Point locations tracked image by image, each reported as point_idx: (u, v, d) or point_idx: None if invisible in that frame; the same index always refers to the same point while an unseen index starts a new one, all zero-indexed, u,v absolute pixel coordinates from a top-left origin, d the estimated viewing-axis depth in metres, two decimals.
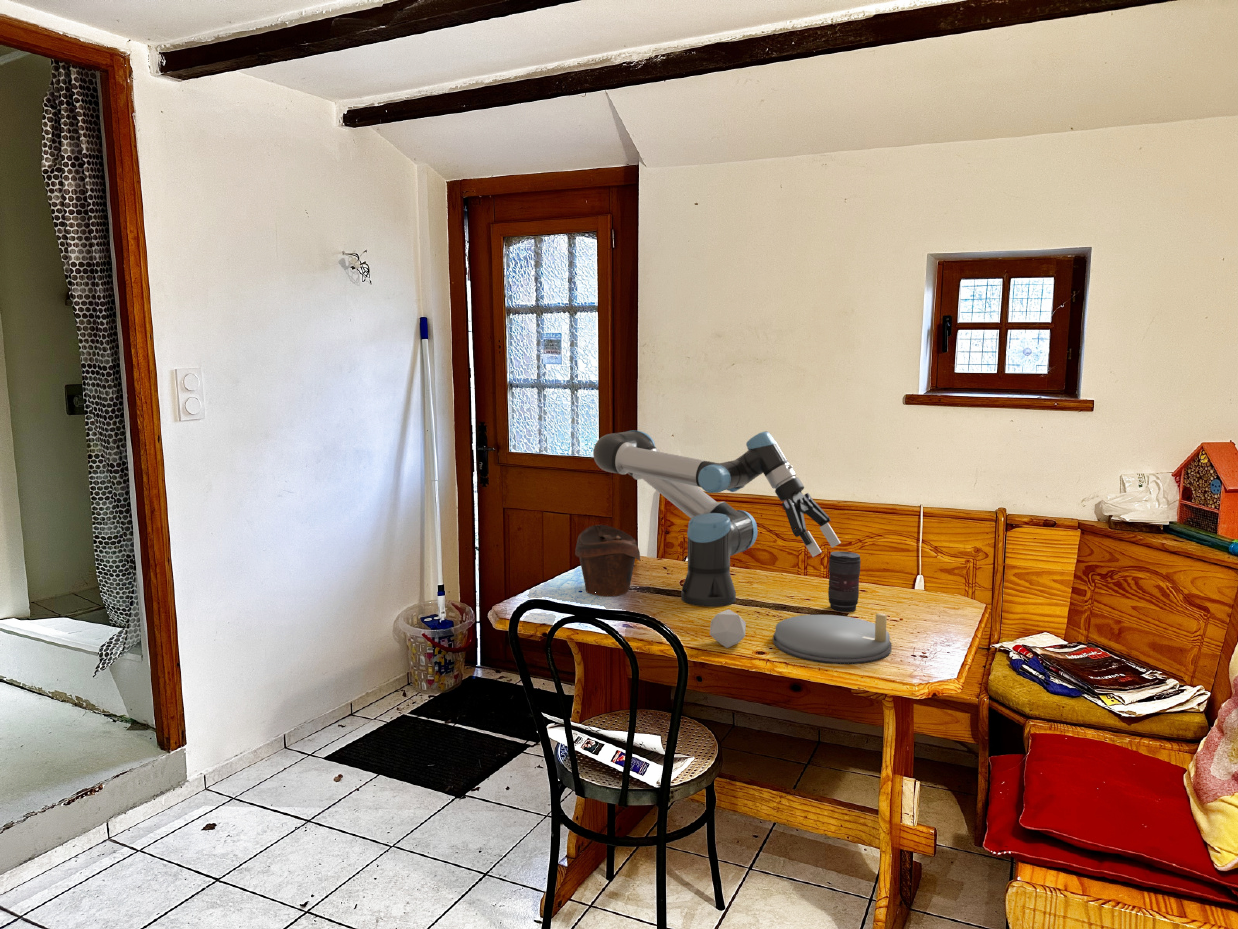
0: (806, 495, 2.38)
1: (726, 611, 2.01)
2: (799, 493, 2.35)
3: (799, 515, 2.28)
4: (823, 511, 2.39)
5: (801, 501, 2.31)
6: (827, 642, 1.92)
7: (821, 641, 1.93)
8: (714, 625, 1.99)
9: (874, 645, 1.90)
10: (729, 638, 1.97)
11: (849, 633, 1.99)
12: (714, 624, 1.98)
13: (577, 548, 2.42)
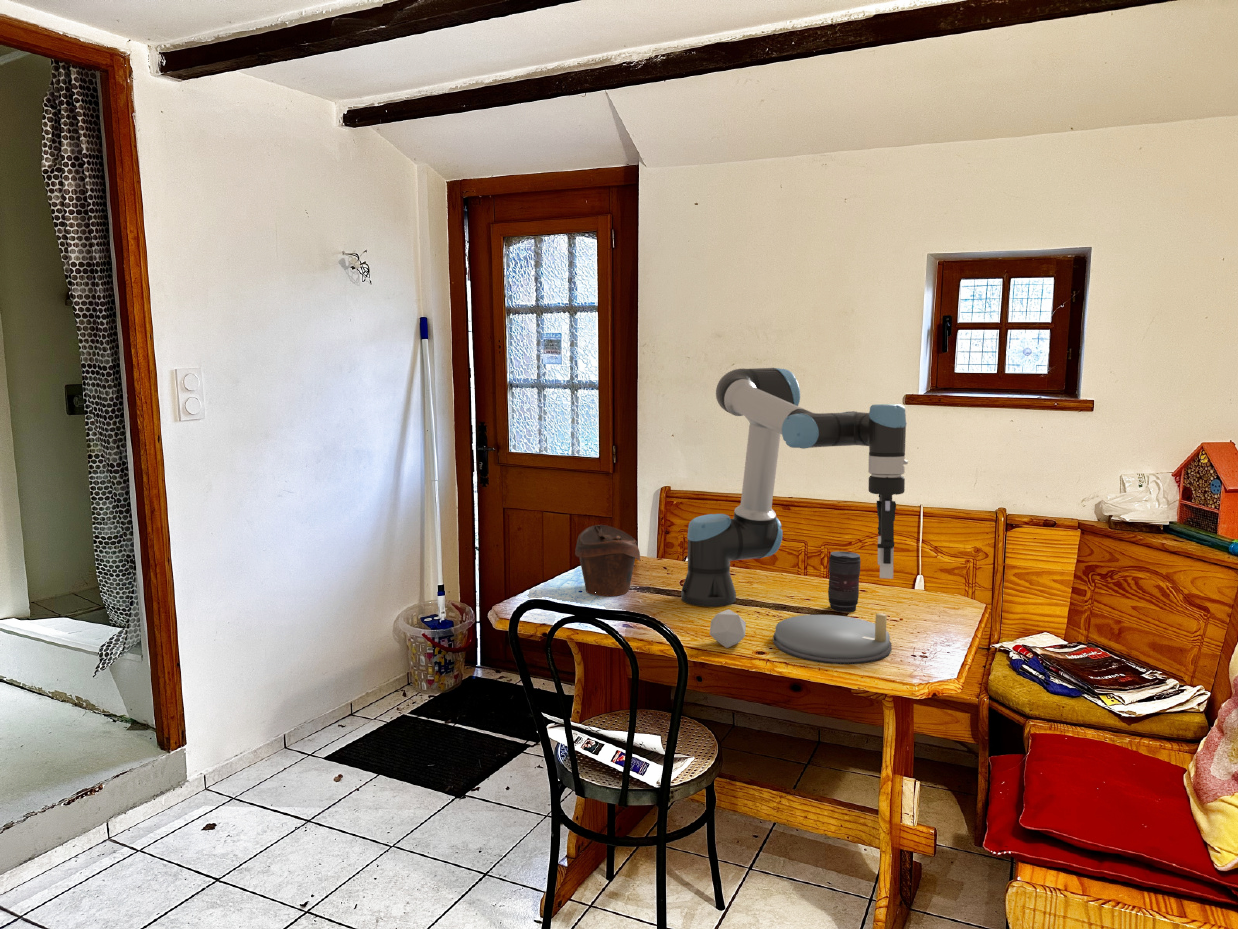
0: None
1: (726, 611, 2.01)
2: None
3: None
4: None
5: (895, 507, 1.84)
6: (827, 642, 1.92)
7: (821, 641, 1.93)
8: (714, 625, 1.99)
9: (874, 645, 1.90)
10: (729, 638, 1.97)
11: (849, 633, 1.99)
12: (714, 624, 1.98)
13: (577, 548, 2.42)
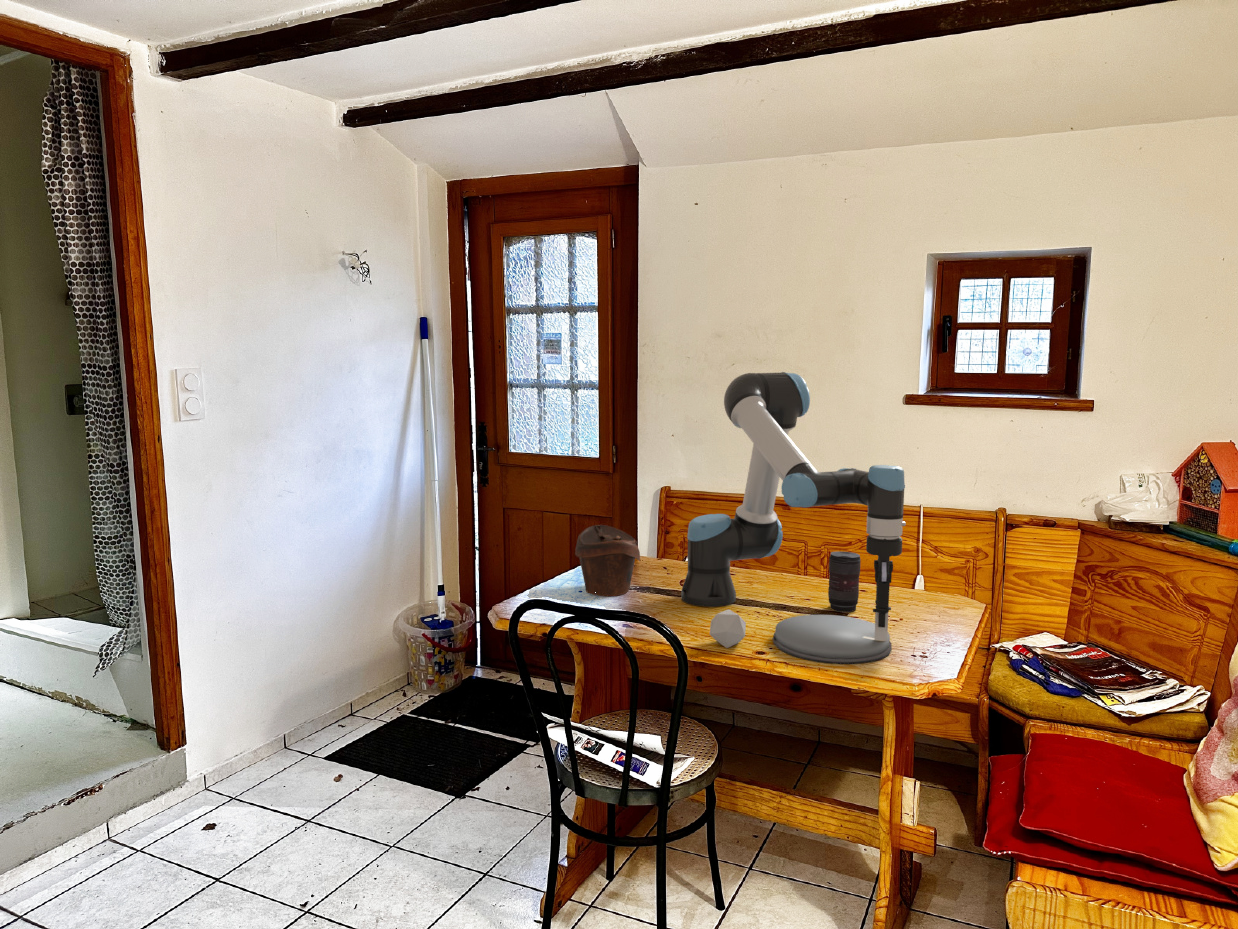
0: None
1: (726, 611, 2.01)
2: None
3: None
4: None
5: (892, 568, 1.86)
6: (828, 643, 1.92)
7: (821, 641, 1.93)
8: (714, 625, 1.99)
9: (875, 645, 1.90)
10: (729, 638, 1.97)
11: (849, 633, 1.99)
12: (714, 624, 1.98)
13: (577, 548, 2.42)
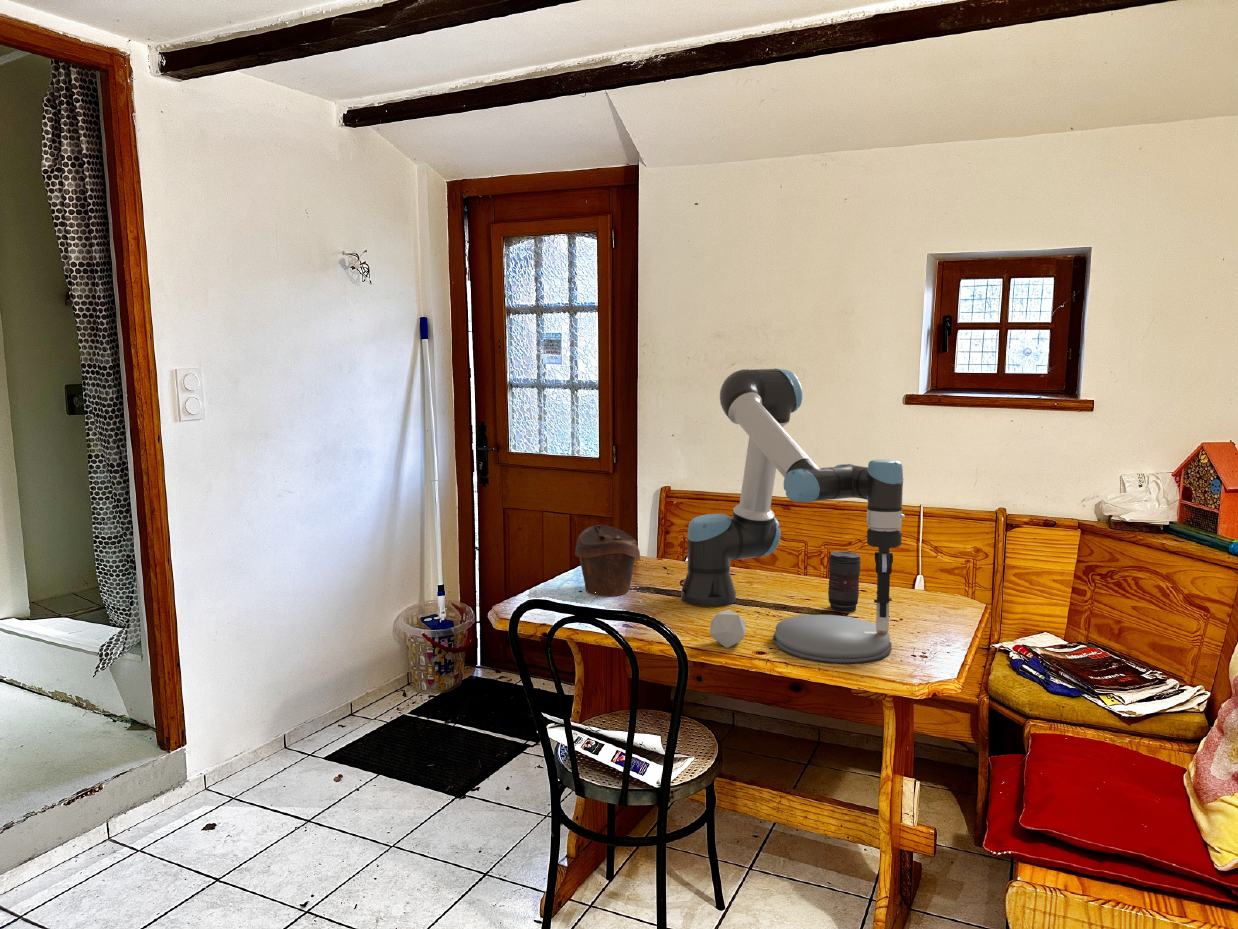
0: None
1: (726, 611, 2.01)
2: None
3: None
4: None
5: (892, 559, 1.92)
6: (847, 643, 1.92)
7: (840, 643, 1.92)
8: (714, 625, 1.99)
9: (885, 638, 1.95)
10: (729, 638, 1.97)
11: (848, 630, 2.01)
12: (714, 624, 1.98)
13: (577, 548, 2.42)
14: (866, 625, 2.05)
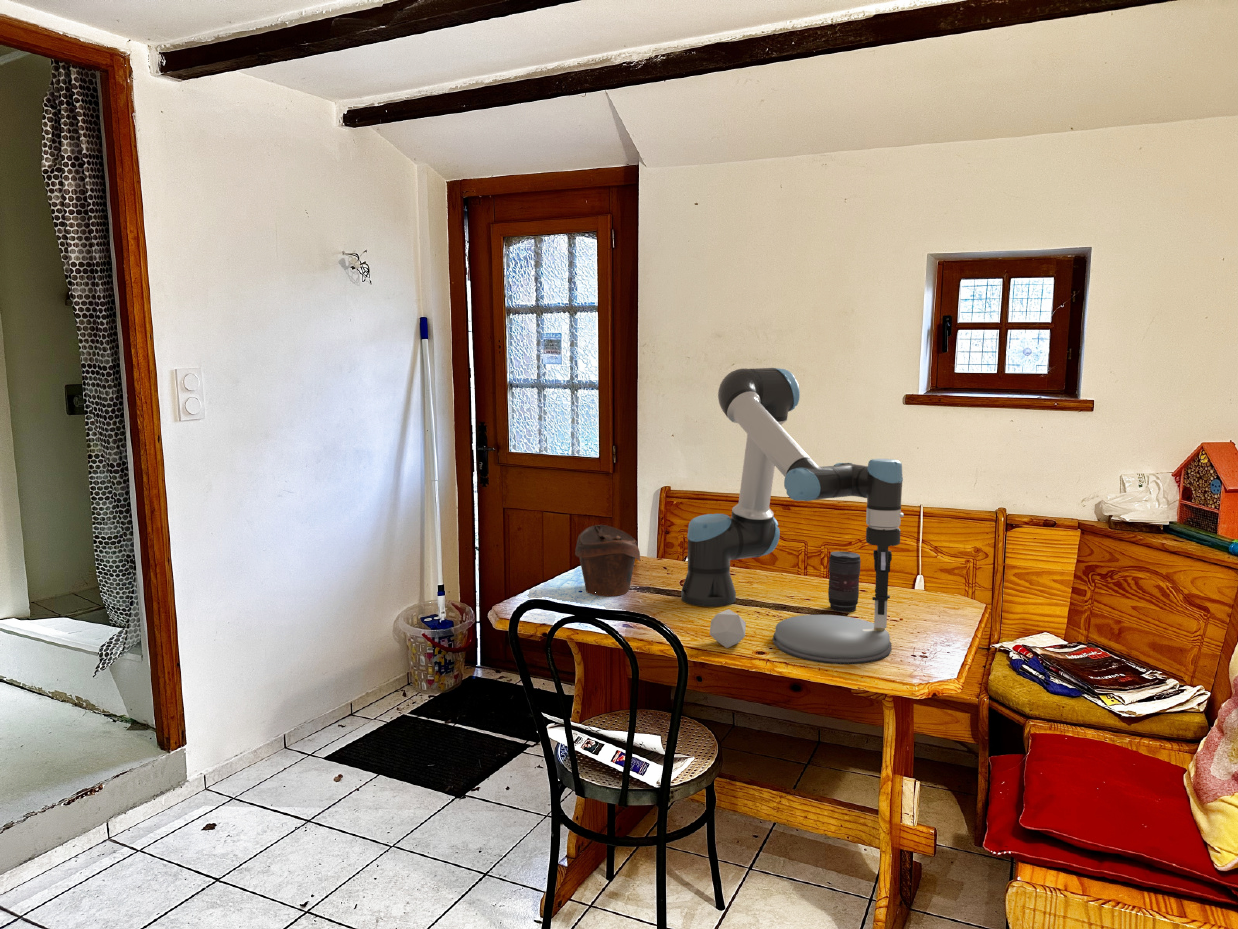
0: None
1: (726, 611, 2.01)
2: None
3: None
4: None
5: (891, 557, 1.94)
6: (854, 642, 1.92)
7: (847, 643, 1.92)
8: (714, 625, 1.99)
9: (886, 635, 1.97)
10: (729, 638, 1.97)
11: (846, 629, 2.01)
12: (714, 624, 1.98)
13: (577, 548, 2.42)
14: (860, 622, 2.06)
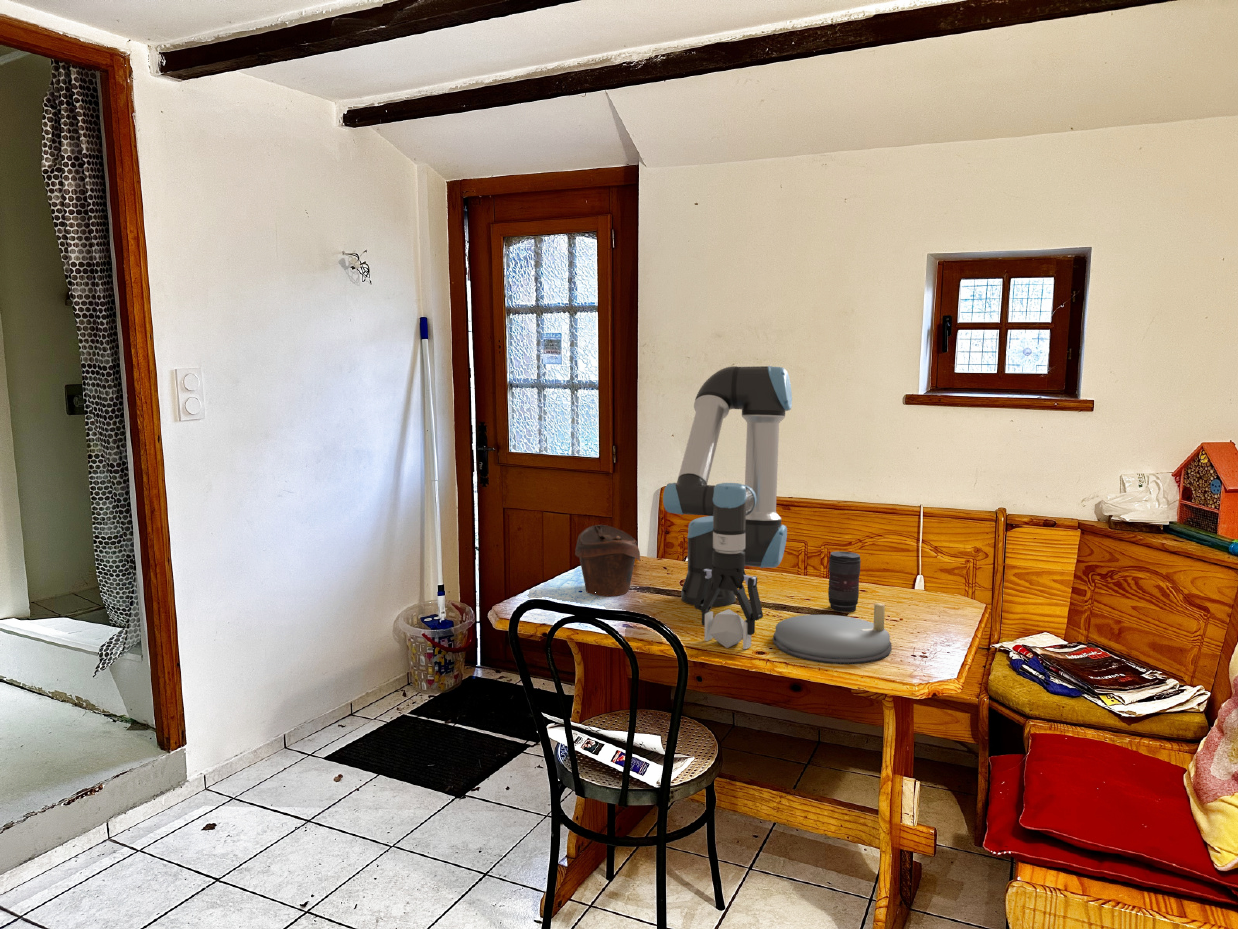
0: None
1: (726, 611, 2.01)
2: (733, 570, 1.97)
3: None
4: (755, 608, 1.94)
5: (717, 579, 1.98)
6: (855, 642, 1.92)
7: (848, 643, 1.92)
8: (714, 625, 1.98)
9: (886, 634, 1.97)
10: (729, 637, 1.97)
11: (846, 629, 2.02)
12: (714, 624, 1.98)
13: (577, 548, 2.42)
14: (859, 622, 2.07)
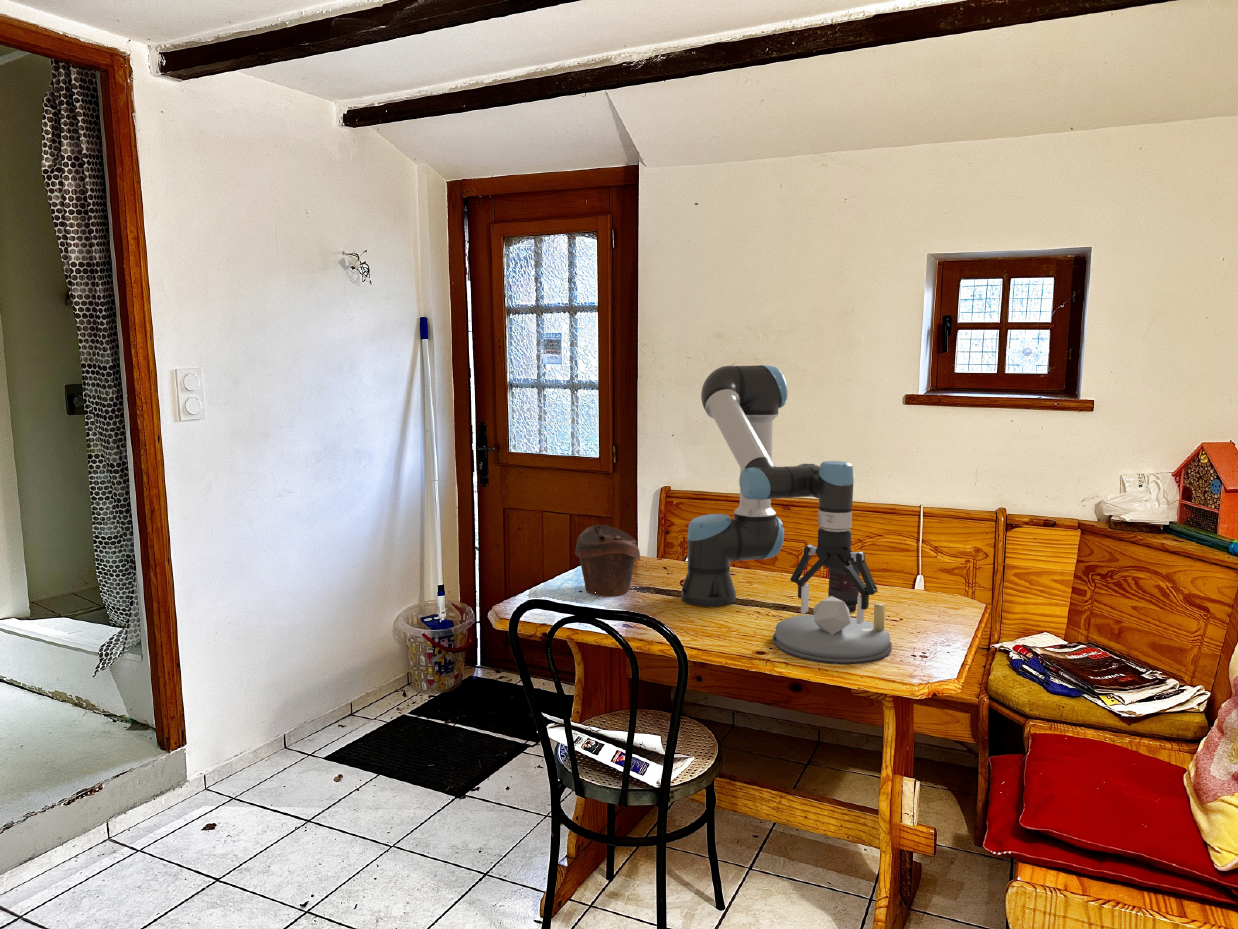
0: None
1: (830, 597, 2.01)
2: (839, 548, 1.96)
3: None
4: (868, 583, 1.93)
5: (823, 557, 1.97)
6: (855, 642, 1.92)
7: (848, 643, 1.92)
8: (819, 611, 1.98)
9: (886, 634, 1.97)
10: (835, 624, 1.96)
11: (846, 629, 2.02)
12: (819, 611, 1.98)
13: (577, 548, 2.42)
14: None
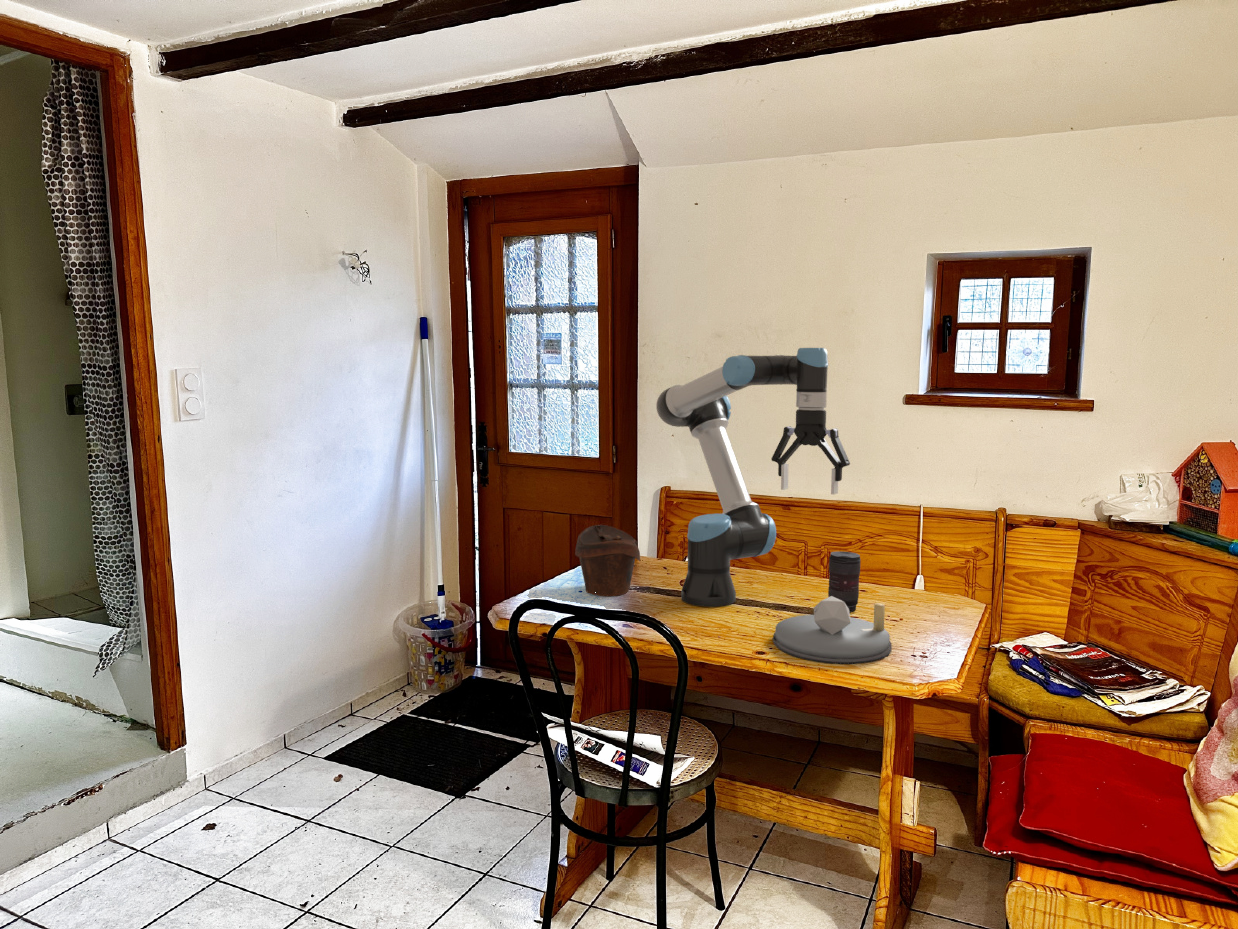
0: None
1: (830, 597, 2.01)
2: (815, 426, 2.15)
3: None
4: (841, 455, 2.12)
5: (800, 435, 2.17)
6: (855, 642, 1.92)
7: (848, 643, 1.92)
8: (819, 611, 1.98)
9: (886, 634, 1.97)
10: (835, 624, 1.96)
11: (846, 629, 2.02)
12: (819, 611, 1.98)
13: (577, 548, 2.42)
14: (859, 622, 2.07)
